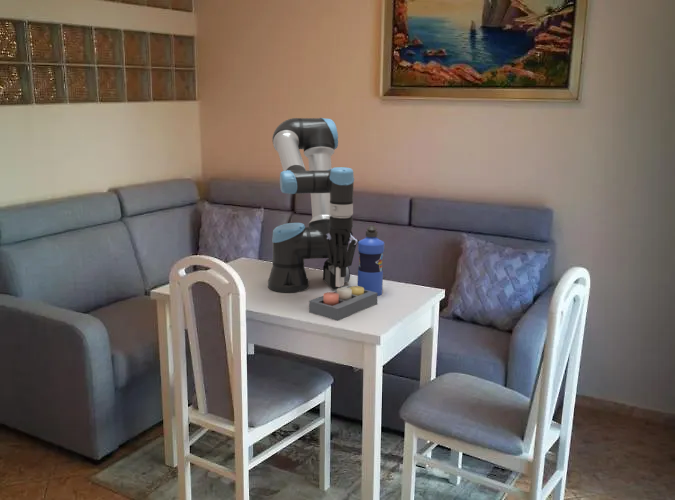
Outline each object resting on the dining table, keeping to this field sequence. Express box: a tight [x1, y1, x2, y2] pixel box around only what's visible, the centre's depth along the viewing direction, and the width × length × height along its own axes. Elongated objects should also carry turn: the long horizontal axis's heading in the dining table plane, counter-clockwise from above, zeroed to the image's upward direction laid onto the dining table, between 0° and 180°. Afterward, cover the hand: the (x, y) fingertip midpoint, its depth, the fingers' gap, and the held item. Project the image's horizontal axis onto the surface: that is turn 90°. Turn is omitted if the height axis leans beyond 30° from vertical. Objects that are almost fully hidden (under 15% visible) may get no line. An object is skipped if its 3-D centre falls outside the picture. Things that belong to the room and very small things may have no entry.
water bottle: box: [356, 224, 385, 297], centre depth 240 cm, size 9×9×25 cm
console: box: [308, 285, 379, 322], centre depth 226 cm, size 12×22×4 cm, turn 141°
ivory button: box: [337, 286, 352, 301], centre depth 225 cm, size 5×5×3 cm
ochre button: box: [350, 285, 364, 296], centre depth 231 cm, size 5×5×3 cm
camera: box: [322, 258, 351, 292], centre depth 251 cm, size 16×9×10 cm, turn 15°
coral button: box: [322, 291, 339, 306], centre depth 220 cm, size 5×5×3 cm
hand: (339, 285), depth 222 cm, fingers closed
